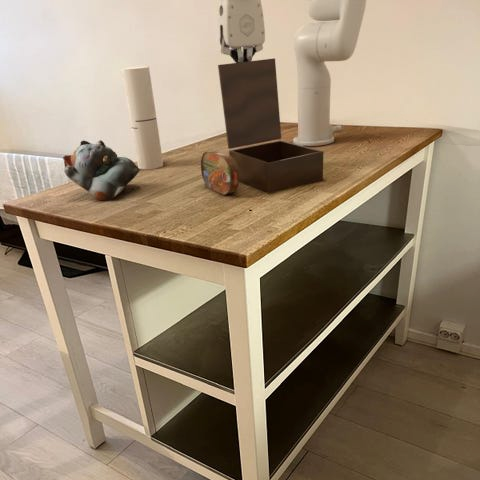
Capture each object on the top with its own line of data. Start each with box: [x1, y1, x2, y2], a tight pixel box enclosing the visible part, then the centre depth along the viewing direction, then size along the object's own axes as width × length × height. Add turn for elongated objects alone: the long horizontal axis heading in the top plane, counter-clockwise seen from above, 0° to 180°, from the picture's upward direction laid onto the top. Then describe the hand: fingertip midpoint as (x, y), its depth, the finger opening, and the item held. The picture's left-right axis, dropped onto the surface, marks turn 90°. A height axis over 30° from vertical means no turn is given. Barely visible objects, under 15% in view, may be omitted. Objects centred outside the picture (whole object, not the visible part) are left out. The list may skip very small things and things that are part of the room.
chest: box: [228, 139, 325, 194], centre depth 117 cm, size 18×15×7 cm
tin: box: [200, 150, 240, 196], centre depth 111 cm, size 15×3×8 cm, turn 29°
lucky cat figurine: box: [62, 139, 141, 202], centre depth 115 cm, size 15×12×14 cm
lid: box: [217, 58, 282, 150], centre depth 117 cm, size 18×15×1 cm
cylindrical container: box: [120, 65, 164, 170], centre depth 132 cm, size 7×7×25 cm
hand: (243, 80), depth 117 cm, fingers closed
